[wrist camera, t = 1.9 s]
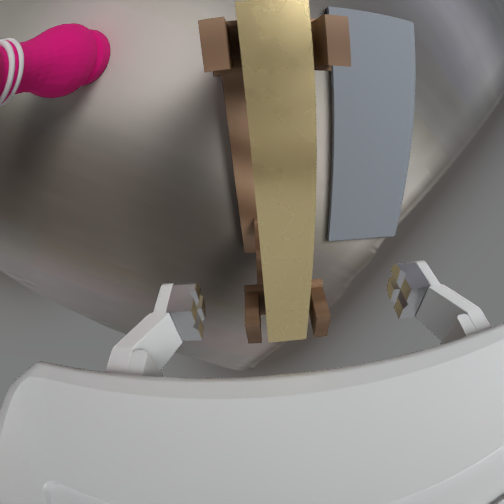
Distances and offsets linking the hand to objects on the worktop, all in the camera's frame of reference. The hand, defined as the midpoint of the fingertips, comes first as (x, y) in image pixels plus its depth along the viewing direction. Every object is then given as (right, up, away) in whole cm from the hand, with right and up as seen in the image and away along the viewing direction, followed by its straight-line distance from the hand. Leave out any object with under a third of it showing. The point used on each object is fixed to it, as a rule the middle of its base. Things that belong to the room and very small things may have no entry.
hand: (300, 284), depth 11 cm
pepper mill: (-19, +21, +7) cm, 29 cm away
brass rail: (0, +4, +5) cm, 7 cm away
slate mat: (+10, +14, +14) cm, 22 cm away
